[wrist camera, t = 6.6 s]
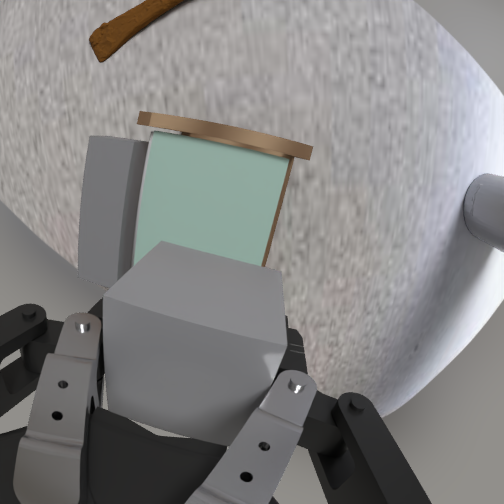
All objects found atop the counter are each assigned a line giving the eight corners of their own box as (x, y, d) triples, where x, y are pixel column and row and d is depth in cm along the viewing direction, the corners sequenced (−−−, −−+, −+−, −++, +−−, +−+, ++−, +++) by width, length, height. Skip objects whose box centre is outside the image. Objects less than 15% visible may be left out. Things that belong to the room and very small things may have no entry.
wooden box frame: (296, 148, 32) (313, 146, 20) (259, 284, 37) (254, 347, 25) (185, 123, 32) (139, 111, 19) (160, 259, 37) (115, 309, 25)
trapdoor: (287, 158, 22) (290, 159, 20) (245, 316, 27) (242, 335, 24) (110, 124, 22) (92, 122, 19) (93, 274, 27) (78, 287, 24)
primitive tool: (101, 64, 30) (88, 58, 26) (88, 38, 28) (75, 31, 25) (234, -15, 26) (231, -29, 23) (214, -39, 25) (210, -53, 21)
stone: (281, 271, 12) (287, 345, 8) (250, 365, 14) (243, 449, 9) (161, 240, 12) (103, 295, 7) (149, 337, 14) (108, 410, 9)
